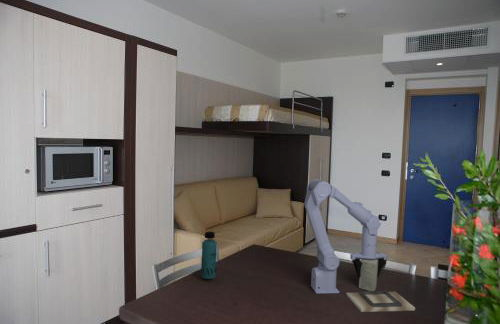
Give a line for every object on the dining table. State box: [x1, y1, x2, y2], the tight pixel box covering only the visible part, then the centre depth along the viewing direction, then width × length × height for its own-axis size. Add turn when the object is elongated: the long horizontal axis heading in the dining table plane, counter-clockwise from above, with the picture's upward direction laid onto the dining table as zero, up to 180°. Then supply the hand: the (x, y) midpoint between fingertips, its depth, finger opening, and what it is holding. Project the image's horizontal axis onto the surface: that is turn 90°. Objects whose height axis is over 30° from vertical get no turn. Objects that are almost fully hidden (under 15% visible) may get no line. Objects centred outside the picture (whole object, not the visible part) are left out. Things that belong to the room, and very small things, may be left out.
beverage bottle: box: [200, 231, 218, 280], centre depth 141 cm, size 6×7×20 cm
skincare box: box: [358, 259, 378, 291], centre depth 136 cm, size 6×4×12 cm
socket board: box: [346, 290, 416, 313], centre depth 125 cm, size 20×13×2 cm, turn 96°
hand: (367, 276), depth 137 cm, fingers closed on skincare box, 7 cm apart
